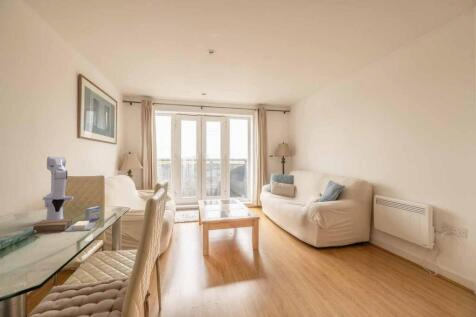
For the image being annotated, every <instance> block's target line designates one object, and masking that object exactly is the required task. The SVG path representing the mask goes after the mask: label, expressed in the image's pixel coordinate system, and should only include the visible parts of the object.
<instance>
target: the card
mask: <svg viewBox="0 0 476 317" xmlns="http://www.w3.org/2000/svg"><path fill="white" fill-rule="evenodd" d="M89 223H90V221H85V220H79V221H77V222H76V224H75V225H74V226H73V229H82V228H86V227H87V226H88V224H89Z"/></svg>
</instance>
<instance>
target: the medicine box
mask: <svg viewBox="0 0 476 317" xmlns="http://www.w3.org/2000/svg"><path fill="white" fill-rule="evenodd" d="M100 215H101V206H97V205H96V206H91V207H87V208H85V212H84V221H89V222H92V221H93V222H94V221H96V220H99V219H100V217H101V216H100Z"/></svg>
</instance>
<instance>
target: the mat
mask: <svg viewBox="0 0 476 317" xmlns="http://www.w3.org/2000/svg"><path fill="white" fill-rule="evenodd" d="M76 223H77V222H76ZM76 223H74V222H73V223H72V225H71V226H70V227H69V228H68V229H66V230H65V231H64V232H65V233H66V232H67V233H68V232H83V231H85V230H86V231H92V229H93V228H94V226H95V225H96V224H97V222H94V221H93V222H92V221H91V222H89V224H88V226H87V227H86V228H82V229H73V226H74V225H75V224H76Z"/></svg>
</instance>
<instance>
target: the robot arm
mask: <svg viewBox="0 0 476 317" xmlns="http://www.w3.org/2000/svg"><path fill="white" fill-rule="evenodd" d="M66 164H67V158H66V157H65V156H63V157H62V156H50V155H49V156H47V157H46V169H47V170H48V171H49V172H50V193H48V194H47V195H46V196H42V201H44V207H45V208H46V219H45V220H55V219H65V217H64V216H63V213H64V212H63V211H64V210H63V209H64V208H63V207H64V206H65V205H66V201H73V200H74V197H75V196H70V195H66V184H67V180H68V178H69V176H68V175H69V174H68V173H69V172H68V170H66Z"/></svg>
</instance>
